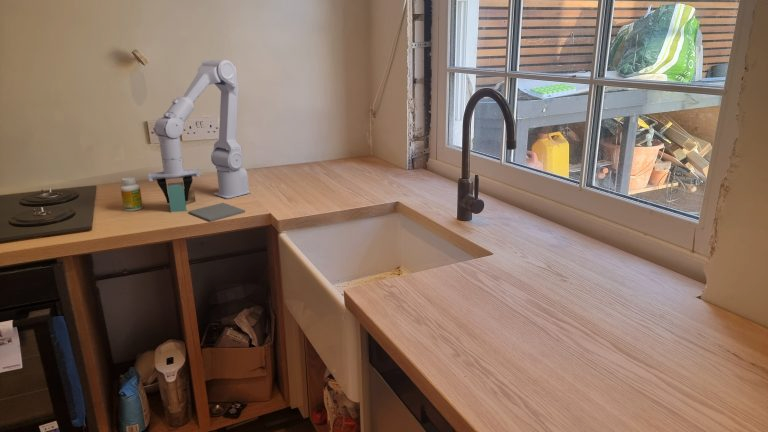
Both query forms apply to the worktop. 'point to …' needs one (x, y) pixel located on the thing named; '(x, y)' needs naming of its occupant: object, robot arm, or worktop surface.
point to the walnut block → (191, 197)
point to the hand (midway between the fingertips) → (177, 201)
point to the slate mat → (216, 212)
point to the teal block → (176, 196)
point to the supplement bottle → (131, 194)
